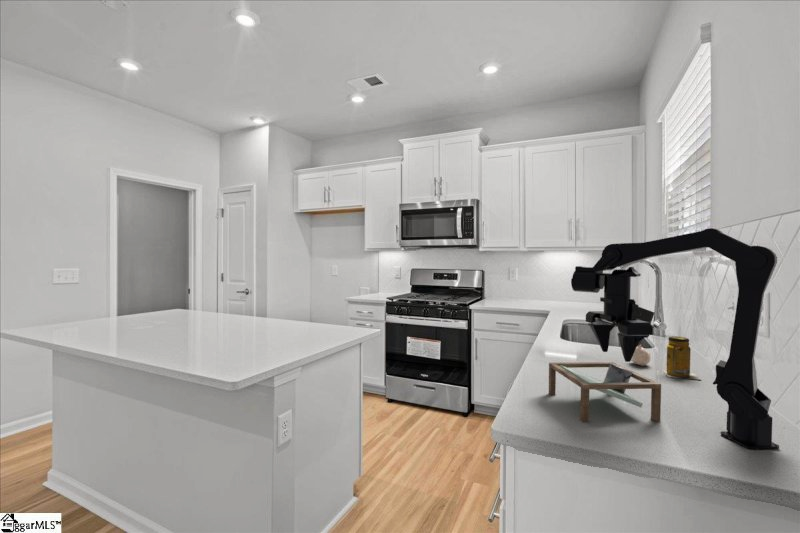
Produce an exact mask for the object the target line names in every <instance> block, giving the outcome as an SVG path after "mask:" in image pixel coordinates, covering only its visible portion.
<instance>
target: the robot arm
mask: <svg viewBox="0 0 800 533" xmlns="http://www.w3.org/2000/svg"><path fill="white" fill-rule="evenodd" d="M707 248H709V249H711V250H712V251H714V252H716V253H718V254H720V255H722V256H724V257H725V258H728V259H729V260H731V261H733V262H734V264H735V275H736V276H735V277H736V281H737V288H738V294H737V300H736V301H737V302H736V308H735V314H734V322H733V329H732V335H731V342H730V346H729V347H730V349H729V356H728V358H727V361H725V360H722V359H720V360H719V361H718V363H716V365H715V379H714V380H713V382H712V385H713V386H715V385H716V393H717V394H718V395H719V396H720V398H721V399H722V400H723V401H725V402H726V403H727V405H728V407H727V412H726V431H725V430H724V431H722V430H721V431H720V435H722V436H723V437H725V438H727V439H729V440H731V441H733V442H735V443H737V444H738V445H741V446H742V447H745V448H746V449H749V450H760V449H761V450H765V449H767V450H769V449H773V450H774V449H780V445H779V444H777V443H774V442H773V417H772V416H771V415H770V414H769V411H770V408H771V404H772V400H771V398H769V397H768V395H766V394H765V393H764V392H763V391H762V390H760V388H758V378H757V369H756V362H755V355H756V354H755V353H756V349H757V342H758V335H759V329H760V322H761V315H762V308H763V305H764V304H763V303H764V297H765V296H764V295H765V292H766V289H767V287H768V285H769V283H770V281H771V278H772V276H773V274H774V271H775V268H776V266H777V264H778V256H777V254H776V253H775V252H774V251H773V250H772V249H770V248H768V247H767V246H762V245H749V244H746V243H745V242H742V241H740V240H738V239H737V238H734V237H732V236H729V235H728V234H726V233H724V232H723V231H722V230H720V229H717V228H713V227H711V228H710V227H709V228H706V229H702V230H699V231H694V232H690V233H686V234H685V233H684V234H679V235H675V236H669V237H664V238H660V239H656V240H650V241H644V242H625V243H624V242H623V243H609V244H607V245H606V246H605V247H604V248H603V249H602V252H601V257H600V258H599V259H598V261H597V262H596V263H595V264H594V265H593V266H592V267H588V266H583V265H581V266H580V265H578V266H575V268H574V269H575V270H574V271H573V273H572V277H571V278H570V279H571V280H570V284H571V289H572V291H574V292H581V293H593V294H594V293H596V294H598V293H599V292H600V291H601V290H603V296H601V297H600V299H599V301H600V302H603V310H601V311H599V310H598V311H594V310H593V311H592V310H589V311H588V312H587V313H585V322H587V323H588V326H589V327H590V329H591V330H592V332H593V335H594V336H595V338H596V340H597V342H598V346H599V347H600V349H601V350H602V352H603V353H608V350H609V345H610V337H611V331H612V330H613V329H614V328H615V327H617V329H618V332H617V338H618V341H619V345H620V349H621V351H622V352H621V353H622V356H623V359H624V361H625V362H628V363H630V362H632V360H631V359H632V356H633V354H634V352H635V349H636V347H638V345H639V344H640V342H641V341H642V340H644V339H645V338H649V337H650V336H654V325H653V324H652V321H653V319H654V315H655V314H656V312H654V311H652V310H650V309H649V310H648V309H646V308H644V307H641V306H639V304H637V303H636V300H635V299H634V298H631V286H632V285H631V282H632V281H631V279H632V278H631V277H633V278H638V277H641V276H642V274H641V273H640V272H638V270H636V269H635V267H634V266H630V265H633V264H637V263H639V262H642V261H644V260H647V259H650V258H656V257H661V256H667V255H672V254H677V253H678V254H679V253H683V252H689V251H695V250H696V251H697V250H701V249H707ZM627 266H629V267H628V268H627V269H616V268H623V267H627ZM605 271H612V272H611V273H609V272H608V273H606V272H605Z"/></svg>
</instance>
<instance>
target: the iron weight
mask: <svg viewBox="0 0 800 533" xmlns="http://www.w3.org/2000/svg"><path fill="white" fill-rule="evenodd" d="M629 370H630V369H629ZM629 370H626V369H624V368H621V367H619V366H616V365H613V364H610V366H609V367H608V369H607V371H606V375H605V376H604V379H603V381H602V382H603V383H630V380H631V378H632V377H631V375H632V372H631V371H632V370H631V371H629ZM613 390H616V391H618V392H621V393H625V394H626V390H627V389H613Z"/></svg>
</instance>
